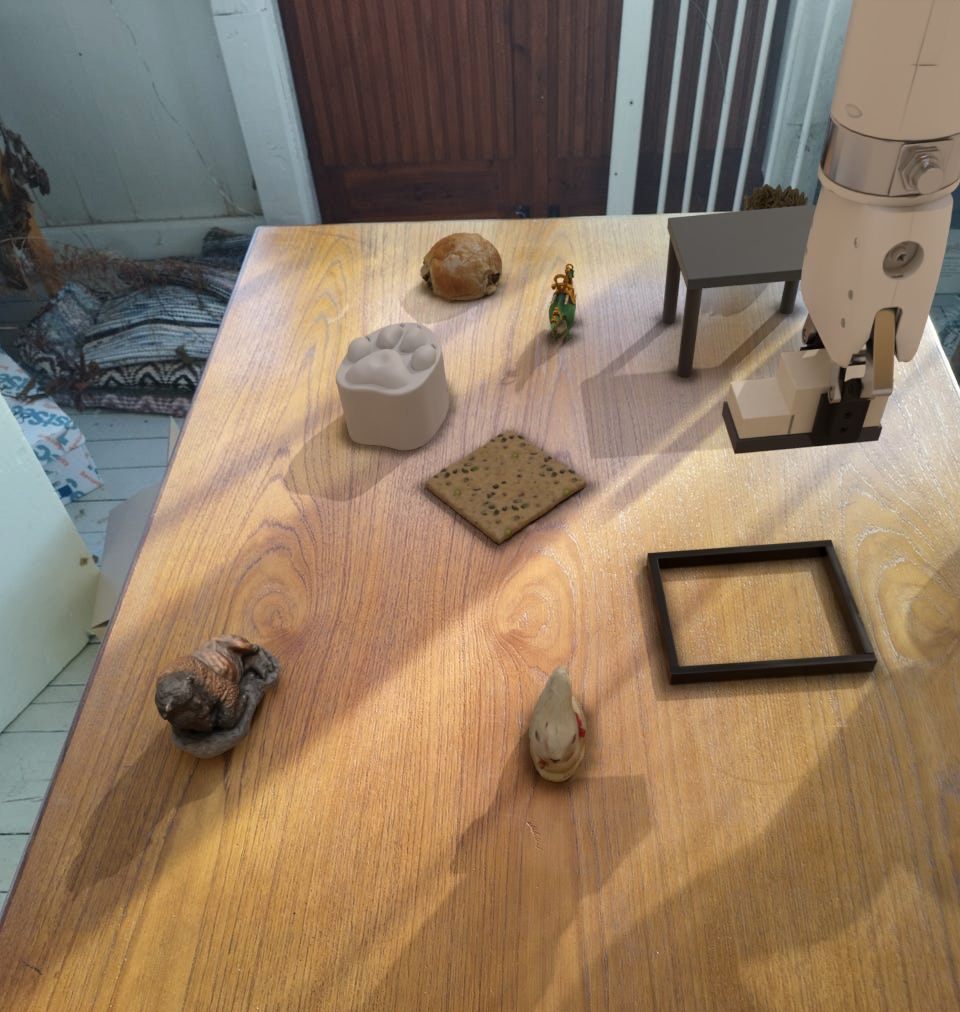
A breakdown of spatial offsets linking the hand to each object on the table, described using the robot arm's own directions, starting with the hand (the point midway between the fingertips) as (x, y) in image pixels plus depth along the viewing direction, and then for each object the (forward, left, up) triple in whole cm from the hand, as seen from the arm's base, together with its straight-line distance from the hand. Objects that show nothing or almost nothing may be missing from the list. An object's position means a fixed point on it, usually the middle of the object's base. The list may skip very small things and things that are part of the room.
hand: (823, 415), depth 62 cm
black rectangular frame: (+2, +2, -20) cm, 20 cm away
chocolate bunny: (+20, +14, -20) cm, 32 cm away
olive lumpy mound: (-12, -56, -20) cm, 61 cm away
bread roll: (+27, -57, -20) cm, 66 cm away
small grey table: (-5, -39, -20) cm, 44 cm away
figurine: (+15, -43, -20) cm, 50 cm away
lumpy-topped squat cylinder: (+34, -31, -20) cm, 50 cm away
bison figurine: (+47, +9, -20) cm, 52 cm away
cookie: (+23, -17, -20) cm, 35 cm away
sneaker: (+2, 0, -1) cm, 2 cm away
